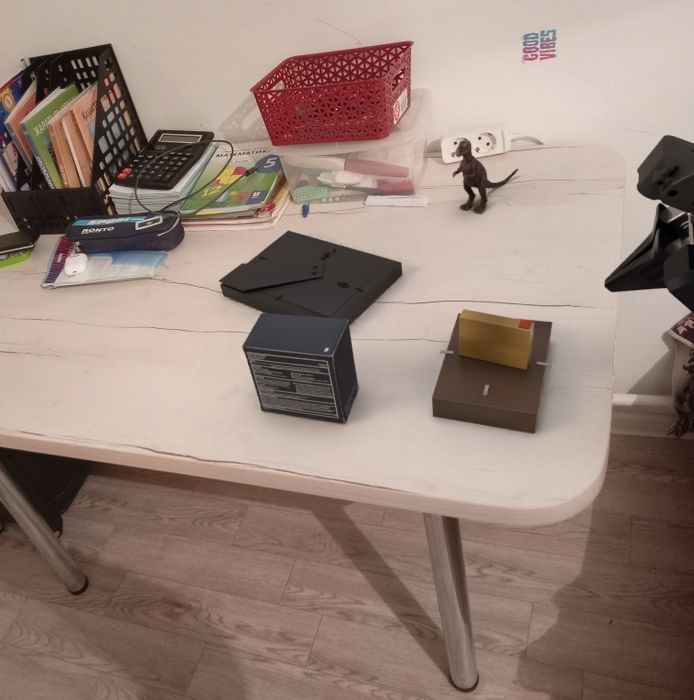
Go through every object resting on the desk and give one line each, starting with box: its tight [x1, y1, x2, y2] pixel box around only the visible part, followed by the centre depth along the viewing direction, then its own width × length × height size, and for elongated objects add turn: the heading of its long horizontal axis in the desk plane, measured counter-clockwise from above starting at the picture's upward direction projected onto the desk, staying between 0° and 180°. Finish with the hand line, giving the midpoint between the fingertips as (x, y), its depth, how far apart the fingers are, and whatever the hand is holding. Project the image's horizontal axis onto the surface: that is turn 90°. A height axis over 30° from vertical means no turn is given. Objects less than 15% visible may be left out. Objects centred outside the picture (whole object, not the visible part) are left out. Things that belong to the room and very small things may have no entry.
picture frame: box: [218, 230, 403, 326], centre depth 89 cm, size 16×3×21 cm
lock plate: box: [431, 312, 553, 434], centre depth 68 cm, size 14×11×3 cm
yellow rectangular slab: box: [459, 308, 534, 370], centre depth 65 cm, size 7×1×6 cm, turn 54°
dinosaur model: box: [452, 139, 520, 214], centre depth 92 cm, size 4×12×15 cm
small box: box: [241, 312, 360, 425], centre depth 70 cm, size 11×6×10 cm, turn 65°
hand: (607, 286), depth 58 cm, fingers closed
